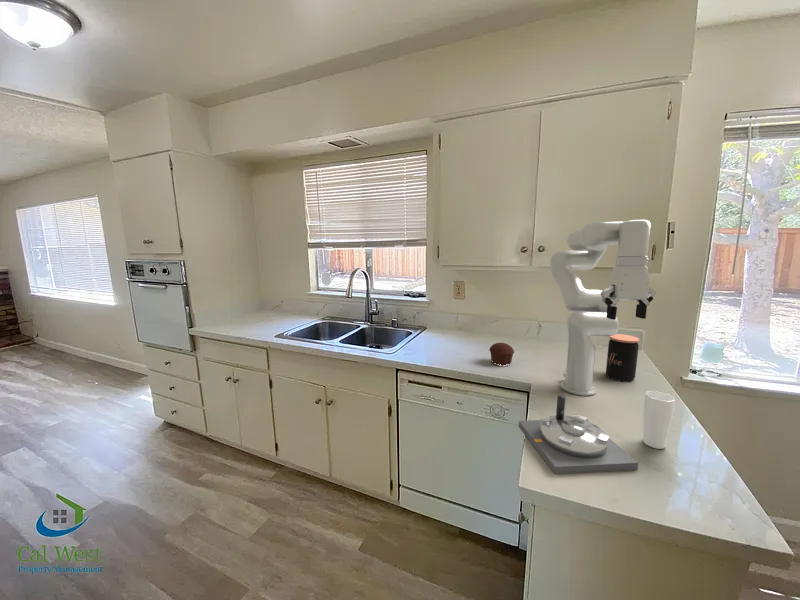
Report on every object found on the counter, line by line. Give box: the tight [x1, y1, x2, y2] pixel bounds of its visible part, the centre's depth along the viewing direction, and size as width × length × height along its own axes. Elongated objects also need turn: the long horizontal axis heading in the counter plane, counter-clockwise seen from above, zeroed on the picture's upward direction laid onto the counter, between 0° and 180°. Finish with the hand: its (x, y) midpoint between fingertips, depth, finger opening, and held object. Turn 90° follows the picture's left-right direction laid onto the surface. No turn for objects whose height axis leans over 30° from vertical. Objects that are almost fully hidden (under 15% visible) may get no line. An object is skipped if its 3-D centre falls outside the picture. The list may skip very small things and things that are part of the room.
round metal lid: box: [540, 394, 610, 457], centre depth 94 cm, size 17×17×10 cm
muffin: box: [488, 342, 515, 365], centre depth 160 cm, size 12×11×10 cm
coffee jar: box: [605, 333, 640, 382], centre depth 141 cm, size 11×11×18 cm
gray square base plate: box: [518, 418, 639, 475], centre depth 95 cm, size 22×22×2 cm
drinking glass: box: [642, 390, 676, 450], centre depth 94 cm, size 7×7×15 cm
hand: (625, 318), depth 101 cm, fingers open, 9 cm apart
